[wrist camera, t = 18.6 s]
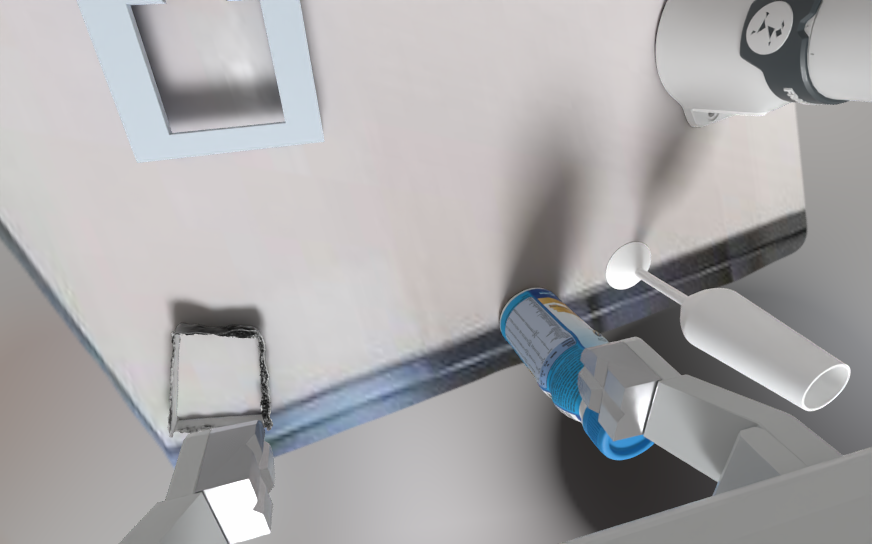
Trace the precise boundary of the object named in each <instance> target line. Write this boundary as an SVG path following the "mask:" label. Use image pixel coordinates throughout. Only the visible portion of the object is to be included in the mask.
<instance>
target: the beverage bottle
mask: <svg viewBox="0 0 872 544" xmlns="http://www.w3.org/2000/svg"><path fill="white" fill-rule="evenodd" d="M500 329H501V332H502V335H503V336H504V338H505V339H506V340H507V342H508V343H509V344H510V345H511V346H512V348H513V349H514V350H515V352H516V353H517V354H518V356H519V357H520V358H521V360H522V361H523V362H524V364H525V365H526V366H527V368H528V369H529V370H530V372H531V373H532V374H533V376H534V377H535V379H536V380H537V383H538V385H539V386H540V388H541V389H542V390H543V392H544V393H546V395H547V396H549V397H550V398H552V400H553V402H554V404H555V406H556V407H557V408H558V409H559V410H560V411H561V412H562V413H564V414H565V415H567V416H568V417H570V418H572V419H574V420H577V421H579V422H582V425H583V428H584V430H585V432H586V433H587V435H588V436H589V437H590V439H591V440H592V441H593V443H594V444H595V445H596V446H597V448H598V449H599V450H600V451H601V452H602V453H603V454H604V455H605V456H607V457H608V458H610V459H614V460H625V459H629V458H632V457H635V456H637V455H639V454H641V453H642V452H644V451H645V450H647V449H648V448H649V447H651V446H652V445H653V444H654V442H652V441H651V440H649V439H647V438H646V437H644V434H643V435H638V436H634V437H630V438H626V439H621V440H617V441H613V440H612V439H611V438H610V436H609V435H608V434H607V432H606V431H605V430H604V428H603V427H602V426H601V424H600V423H599V422H598V416H599V413H597V412H595V411H593V410H591V409H589V408H588V407H587V406H586V404H585V403H584V401H583V399H582V397H581V395H580V393H579V388H578V384H577V382H578V373H579V372H580V371H581V370H582V368H583V367H584V364H583V363H582V362H581V361H580V359H581V353H582V352H583V350H584V349H585V348H589V347H594V346H598V345H602V344H607V343H609V342H608V341H607V340H606V339H605V338H604V337H603V336H602V335H601V334H600V333H598V332H597V331H595V330H593V329H592V328H591V327H589V326H588V325H587V324H586V323H585V322H584V321H583V320H582V319H580V318H579V317H578V316H577V315H576V314H575V313H574V312H573V311H571V310H570V309H569V308H568V307H567V306H566V305H565V304H564V303H563V302H562V301H561V300H560V299H559V298H558V297H557V296H556V295H555V294H553V293H552V292H551V291H549V290H547V289H544V288H530V289H526V290H524V291H522V292H520V293H518V294H516V295H515V296H514V297H513V298H511V299H510V300H509V302H508V303H507V304H506V306H505V307H504V309H503V311H502V313H501V317H500Z"/></svg>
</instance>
